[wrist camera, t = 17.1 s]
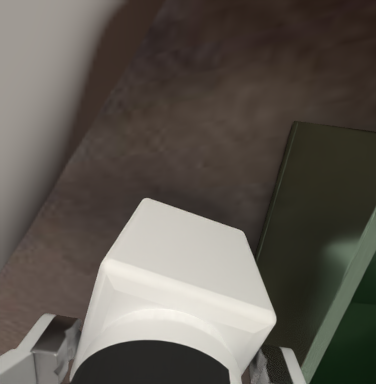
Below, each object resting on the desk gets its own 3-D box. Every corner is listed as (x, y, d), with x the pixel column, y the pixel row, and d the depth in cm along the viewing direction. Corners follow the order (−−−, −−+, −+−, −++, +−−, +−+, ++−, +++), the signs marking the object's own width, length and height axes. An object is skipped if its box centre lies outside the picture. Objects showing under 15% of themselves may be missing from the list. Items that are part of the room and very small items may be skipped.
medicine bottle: (117, 279, 17) (-43, 604, 6) (144, 194, 15) (-32, 456, 4) (206, 307, 18) (222, 658, 6) (245, 230, 15) (379, 559, 4)
